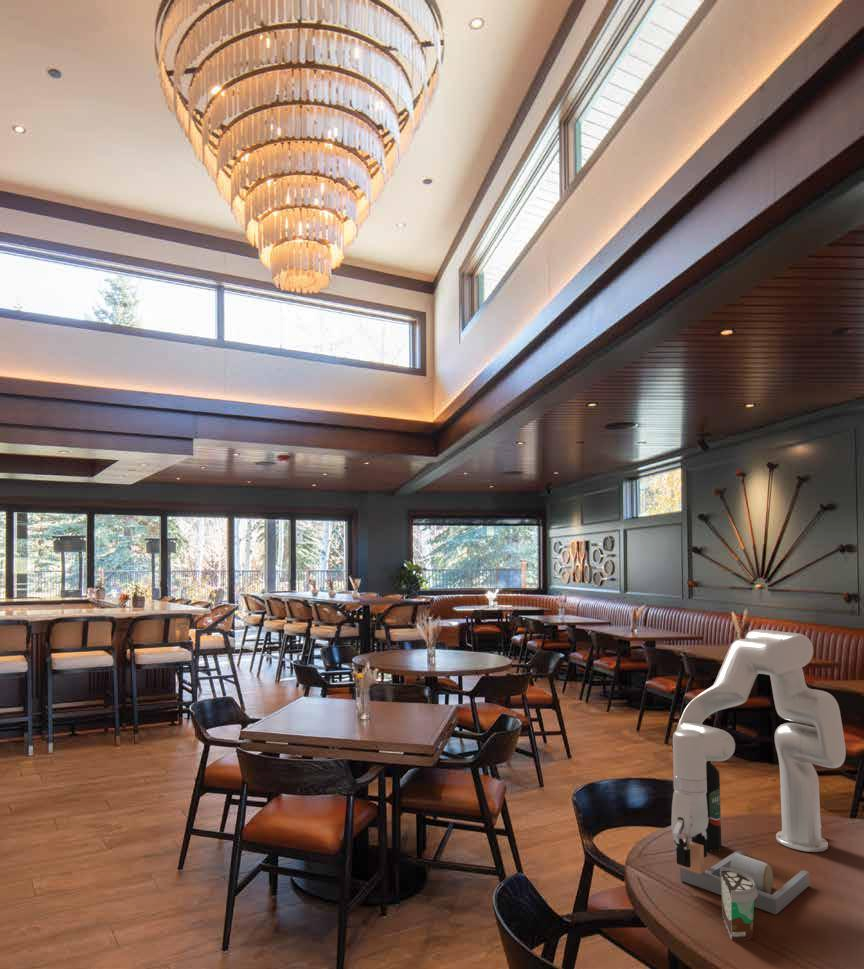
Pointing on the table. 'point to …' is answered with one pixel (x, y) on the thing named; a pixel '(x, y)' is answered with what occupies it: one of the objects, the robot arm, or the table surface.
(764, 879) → the ceramic mug
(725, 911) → the food container
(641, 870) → the table surface
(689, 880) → the pull frame
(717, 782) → the wine bottle
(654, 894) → the table surface
